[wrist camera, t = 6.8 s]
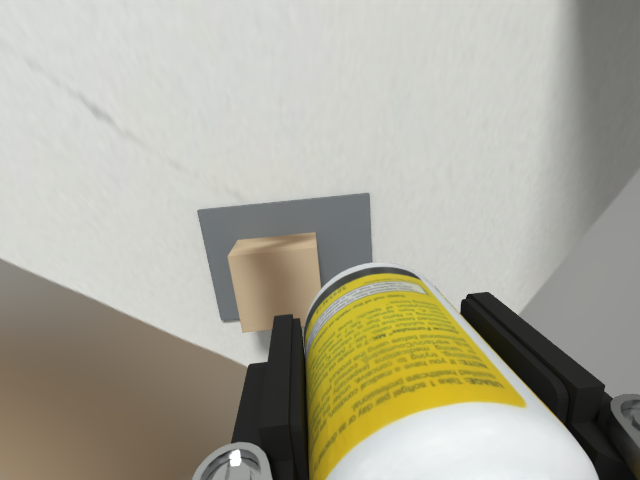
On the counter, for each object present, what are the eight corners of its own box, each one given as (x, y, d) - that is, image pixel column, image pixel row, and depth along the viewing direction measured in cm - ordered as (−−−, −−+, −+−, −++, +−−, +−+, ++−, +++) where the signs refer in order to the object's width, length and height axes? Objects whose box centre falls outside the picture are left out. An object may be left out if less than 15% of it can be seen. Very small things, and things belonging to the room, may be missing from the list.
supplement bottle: (276, 341, 11) (218, 876, 3) (361, 230, 10) (605, 584, 2) (384, 402, 12) (556, 920, 4) (470, 307, 11) (915, 739, 3)
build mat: (368, 192, 29) (369, 193, 28) (373, 302, 32) (374, 304, 32) (198, 209, 29) (197, 210, 28) (222, 318, 32) (221, 320, 32)
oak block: (315, 232, 29) (316, 247, 25) (322, 301, 31) (324, 324, 28) (237, 240, 29) (227, 256, 25) (250, 308, 31) (242, 332, 28)
